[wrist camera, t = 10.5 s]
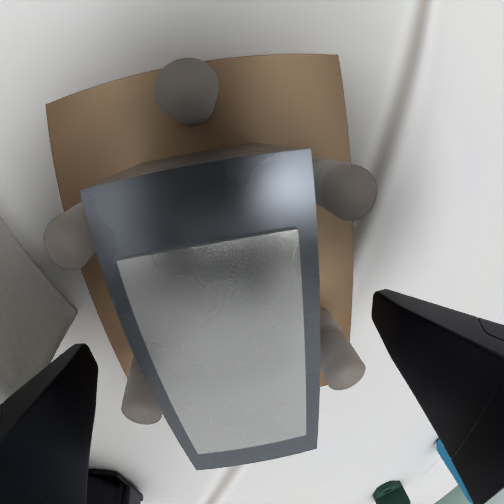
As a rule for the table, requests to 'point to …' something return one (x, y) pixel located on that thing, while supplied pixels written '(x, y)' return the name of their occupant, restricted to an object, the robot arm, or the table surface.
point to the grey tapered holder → (219, 294)
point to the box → (27, 316)
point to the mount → (391, 494)
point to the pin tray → (207, 138)
